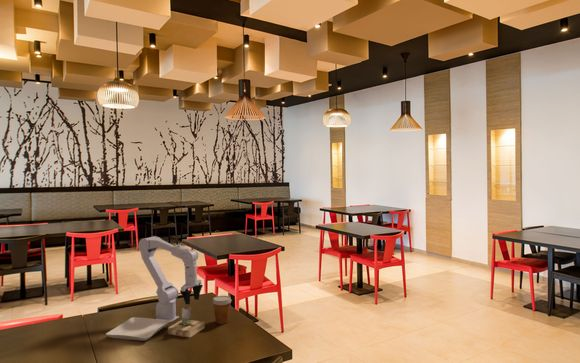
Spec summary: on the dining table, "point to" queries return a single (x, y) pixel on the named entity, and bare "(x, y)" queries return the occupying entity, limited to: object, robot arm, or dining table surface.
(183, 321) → the post
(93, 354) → the dining table surface
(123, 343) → the dining table surface
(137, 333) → the salad plate
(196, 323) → the jack base
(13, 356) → the dining table surface
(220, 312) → the disposable coffee cup
